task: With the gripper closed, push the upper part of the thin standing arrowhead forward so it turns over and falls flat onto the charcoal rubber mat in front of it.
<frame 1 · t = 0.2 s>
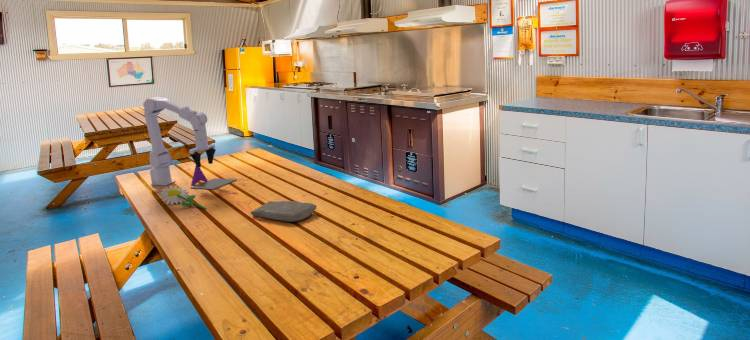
hand: (204, 165, 257), 10 cm above the table, tool pointing down, fingers open, 7 cm apart
mat: (214, 184, 260), on the table
arrowhead: (199, 184, 264), on the table
decorative flower: (186, 205, 229), on the table
stone: (282, 216, 204), on the table
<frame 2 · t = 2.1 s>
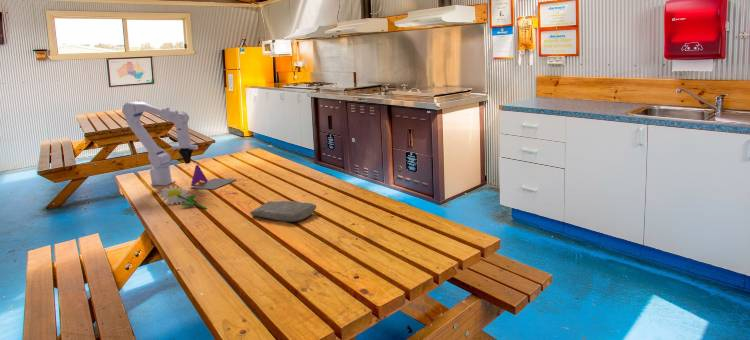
hand: (187, 163, 264), 10 cm above the table, tool pointing down, fingers closed
nothing on the table moved.
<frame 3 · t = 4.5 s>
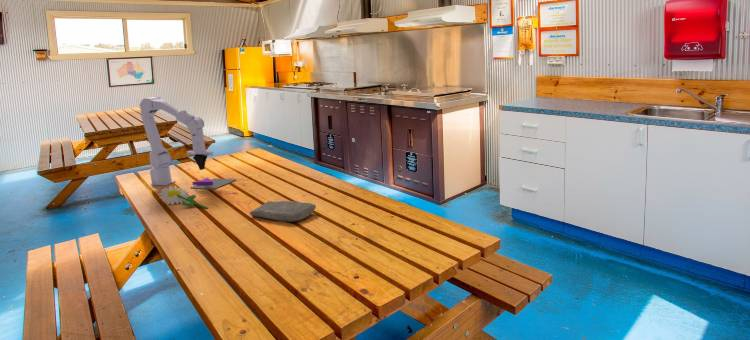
hand: (202, 169, 261), 7 cm above the table, tool pointing down, fingers closed
arrowhead: (199, 181, 263), point 1 cm above the table, touching mat
everything else where it was.
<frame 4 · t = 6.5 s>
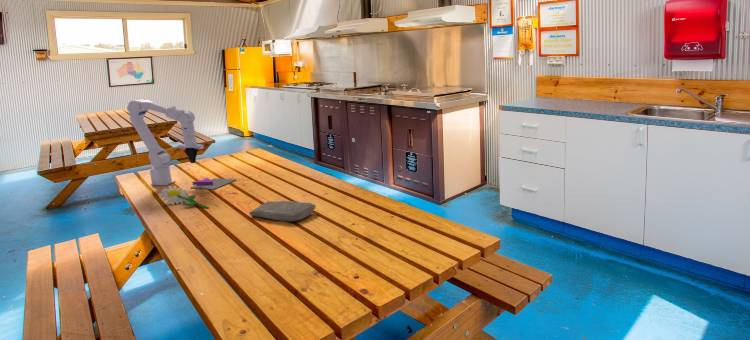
hand: (193, 162, 264), 10 cm above the table, tool pointing down, fingers closed
nothing on the table moved.
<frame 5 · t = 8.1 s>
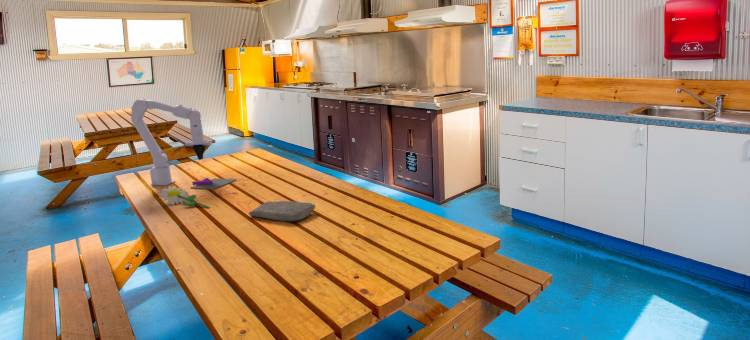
hand: (200, 159, 271), 10 cm above the table, tool pointing down, fingers closed
nothing on the table moved.
at the end: arrowhead tilted 90°; arrowhead inside the target area (6.2 cm from its centre), point 1.2 cm above the table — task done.
